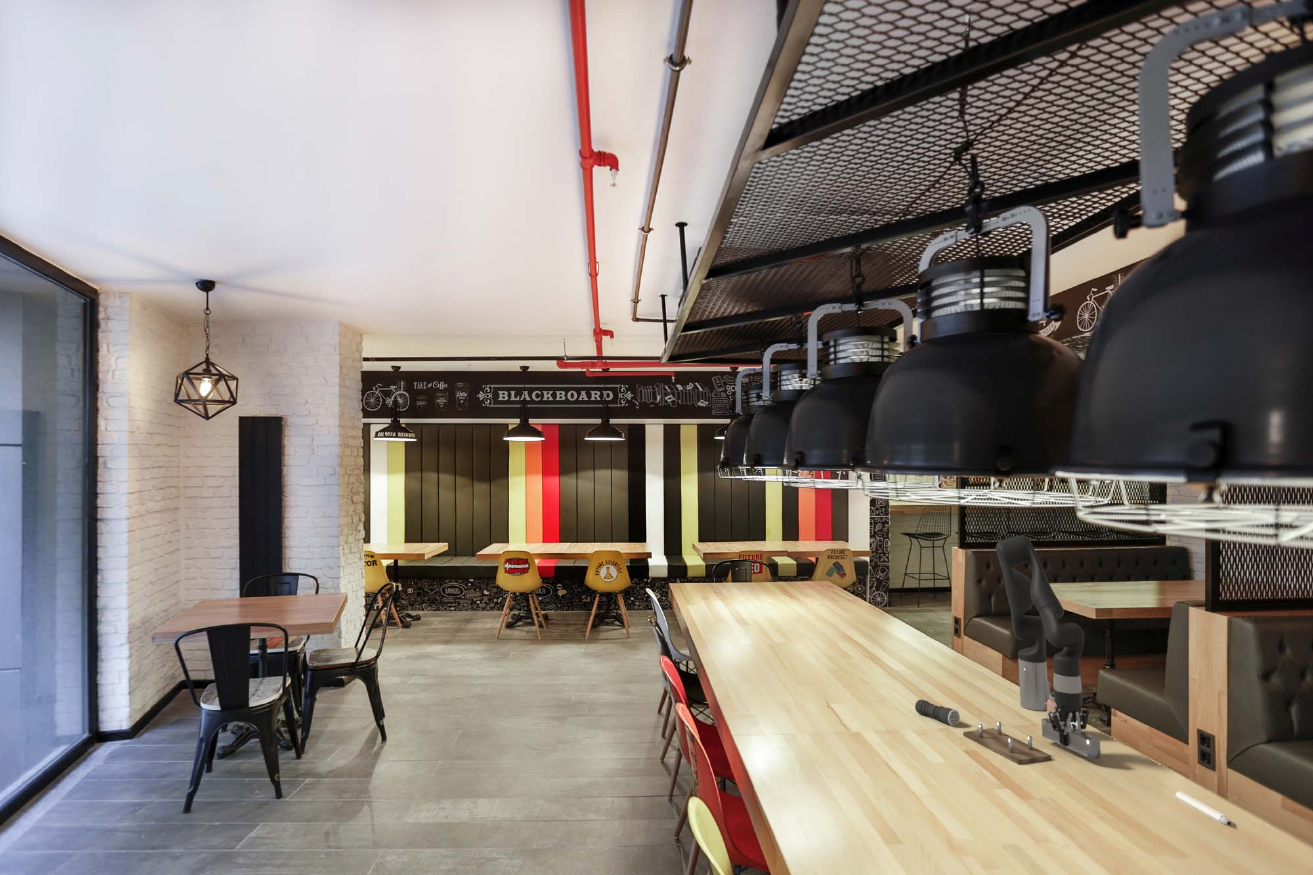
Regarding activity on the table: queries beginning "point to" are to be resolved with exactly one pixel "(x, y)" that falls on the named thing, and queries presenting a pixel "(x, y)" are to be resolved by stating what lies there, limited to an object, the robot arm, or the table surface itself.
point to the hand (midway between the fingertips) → (1070, 744)
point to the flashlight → (938, 712)
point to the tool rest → (1007, 745)
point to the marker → (1202, 808)
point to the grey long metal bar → (1074, 740)
